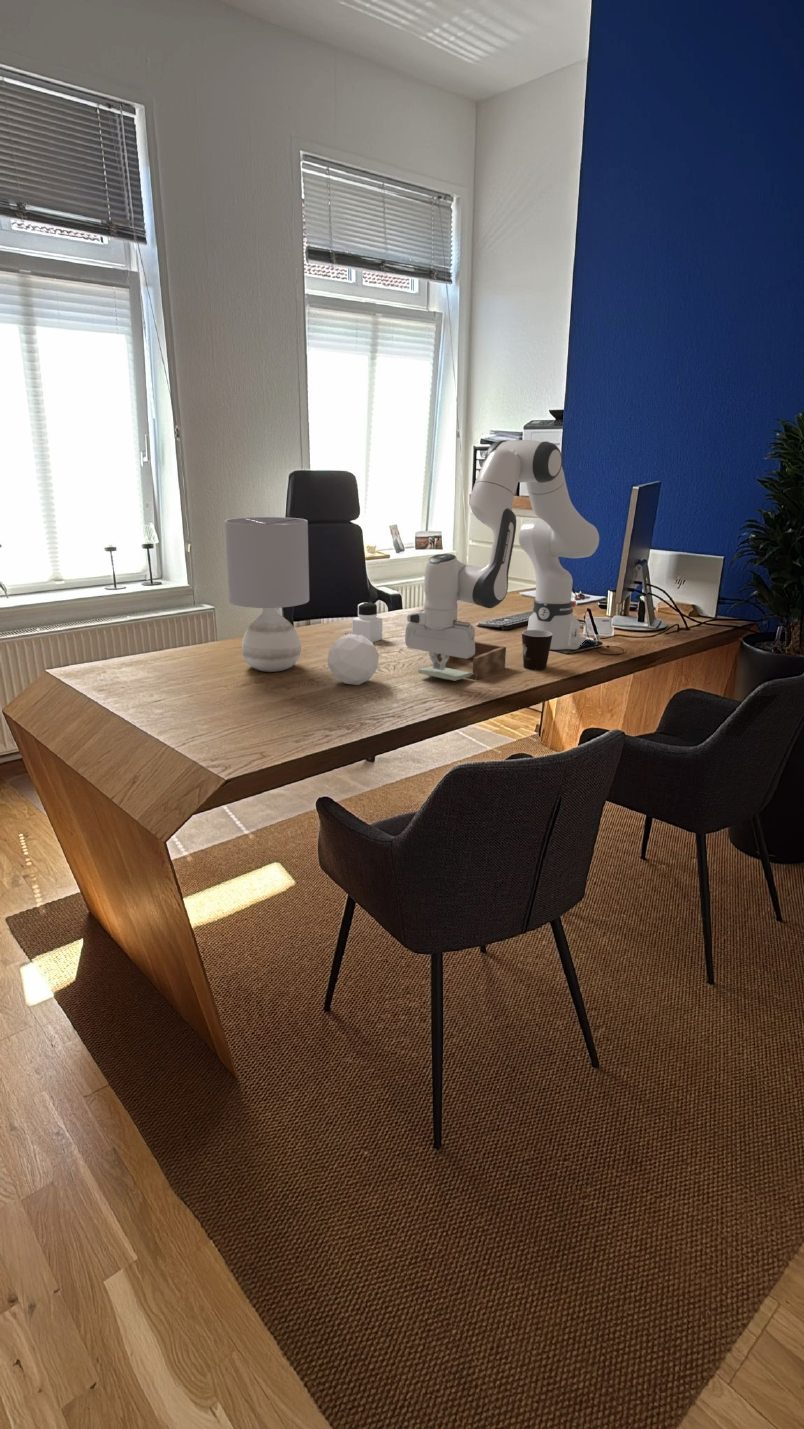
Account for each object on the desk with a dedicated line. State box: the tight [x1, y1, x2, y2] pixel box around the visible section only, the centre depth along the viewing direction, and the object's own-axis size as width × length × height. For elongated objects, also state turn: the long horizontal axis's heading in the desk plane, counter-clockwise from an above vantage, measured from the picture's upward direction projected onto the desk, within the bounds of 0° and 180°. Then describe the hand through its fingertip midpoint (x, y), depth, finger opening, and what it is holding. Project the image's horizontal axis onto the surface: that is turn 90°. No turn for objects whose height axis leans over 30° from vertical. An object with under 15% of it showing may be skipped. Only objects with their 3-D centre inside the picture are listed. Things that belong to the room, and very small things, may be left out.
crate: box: [430, 641, 507, 680], centre depth 221 cm, size 17×14×6 cm
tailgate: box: [418, 665, 471, 682], centre depth 212 cm, size 1×12×8 cm
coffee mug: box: [521, 629, 553, 671], centre depth 225 cm, size 12×9×10 cm
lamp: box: [224, 516, 310, 673], centre depth 214 cm, size 22×22×40 cm
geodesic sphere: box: [327, 631, 380, 686], centre depth 206 cm, size 14×14×14 cm
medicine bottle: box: [351, 602, 383, 644], centre depth 251 cm, size 7×7×12 cm
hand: (438, 669), depth 209 cm, fingers closed
